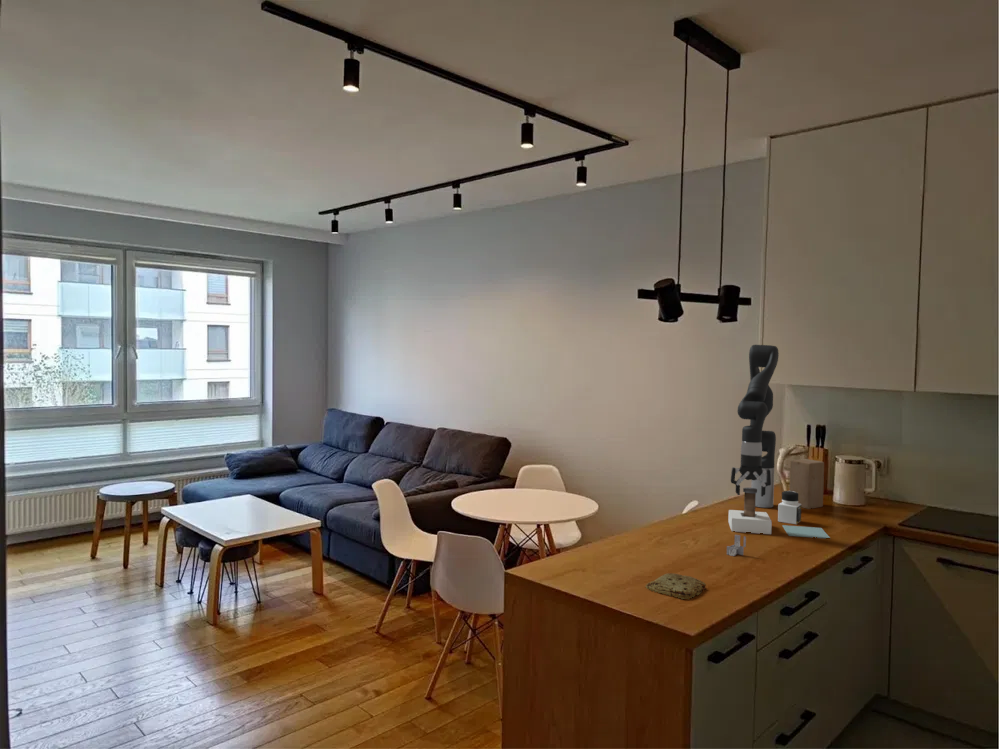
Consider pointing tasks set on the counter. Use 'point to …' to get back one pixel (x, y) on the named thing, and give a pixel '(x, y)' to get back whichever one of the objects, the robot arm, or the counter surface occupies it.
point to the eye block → (749, 522)
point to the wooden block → (807, 482)
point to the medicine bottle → (789, 508)
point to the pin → (749, 502)
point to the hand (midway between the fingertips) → (750, 495)
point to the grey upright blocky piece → (736, 547)
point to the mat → (805, 531)
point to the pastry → (677, 585)
